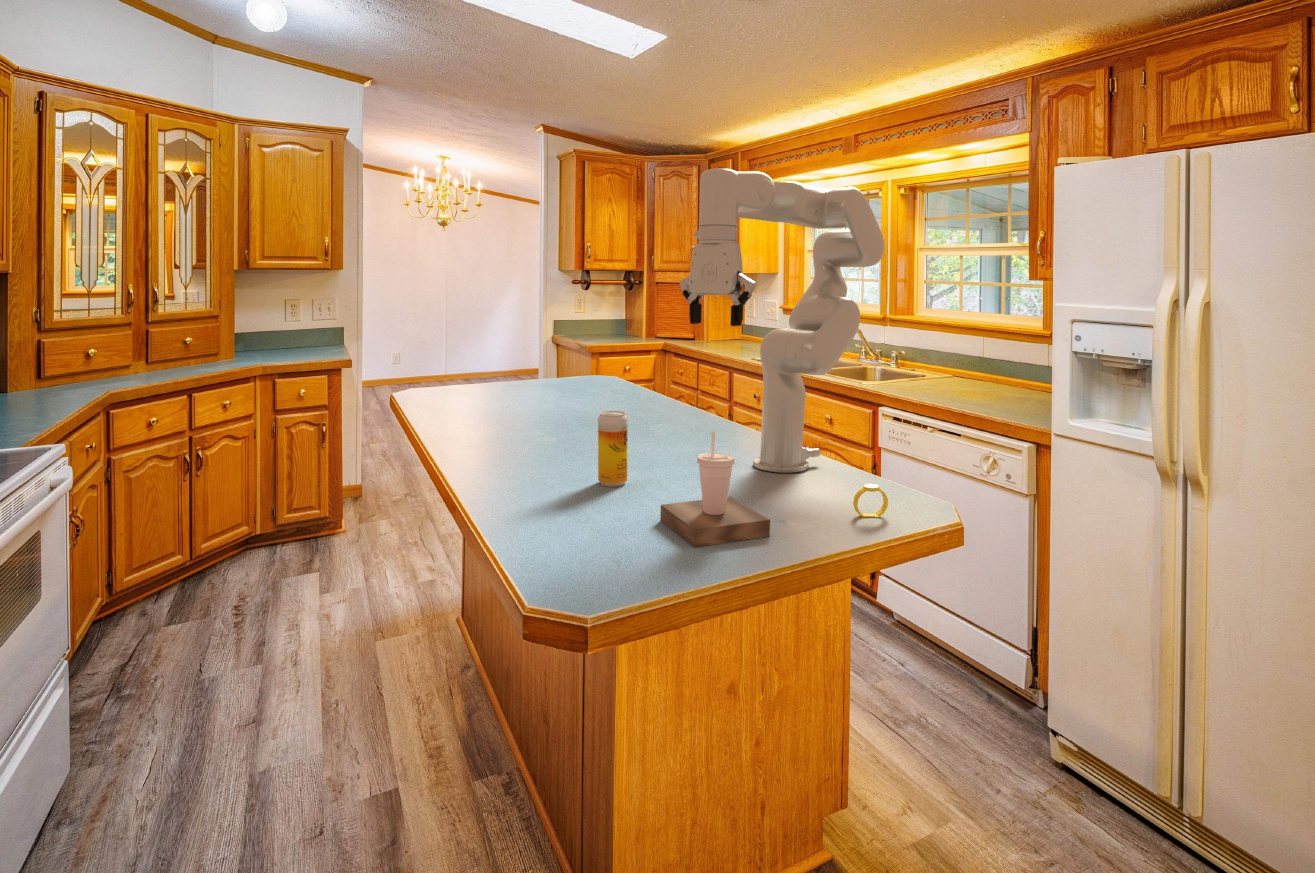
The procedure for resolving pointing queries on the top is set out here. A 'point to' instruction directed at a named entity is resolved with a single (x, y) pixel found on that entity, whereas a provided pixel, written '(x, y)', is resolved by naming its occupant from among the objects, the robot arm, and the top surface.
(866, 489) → the watch
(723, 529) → the walnut base
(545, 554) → the top surface
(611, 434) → the beer can
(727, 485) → the smoothie
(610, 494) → the top surface
